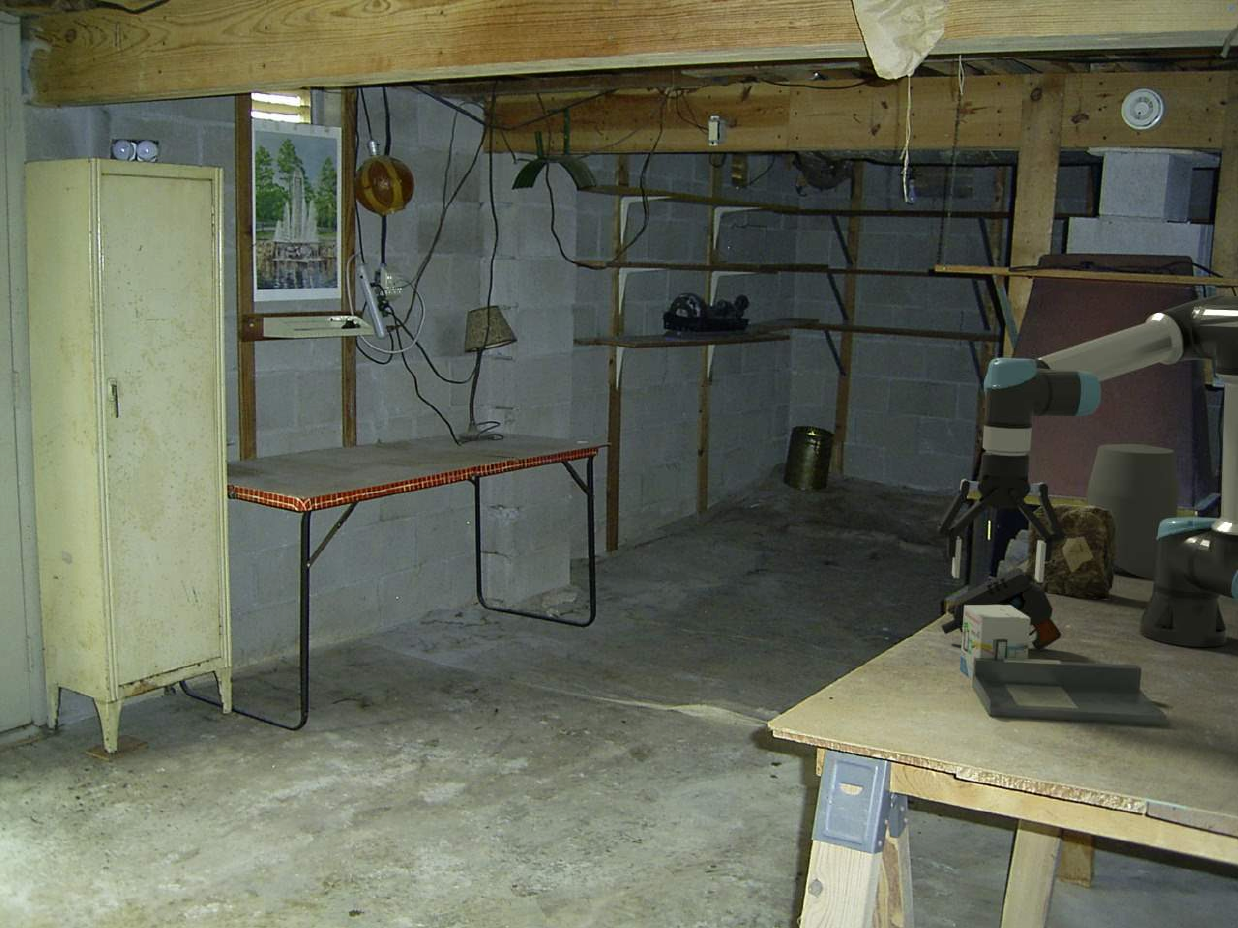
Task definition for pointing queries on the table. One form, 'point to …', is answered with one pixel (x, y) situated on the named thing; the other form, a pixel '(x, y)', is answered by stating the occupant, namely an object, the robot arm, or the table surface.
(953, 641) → the table surface
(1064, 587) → the stone block
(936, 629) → the table surface
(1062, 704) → the tray
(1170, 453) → the grey tapered cylinder
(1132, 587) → the table surface
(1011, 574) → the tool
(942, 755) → the table surface
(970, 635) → the ink box
